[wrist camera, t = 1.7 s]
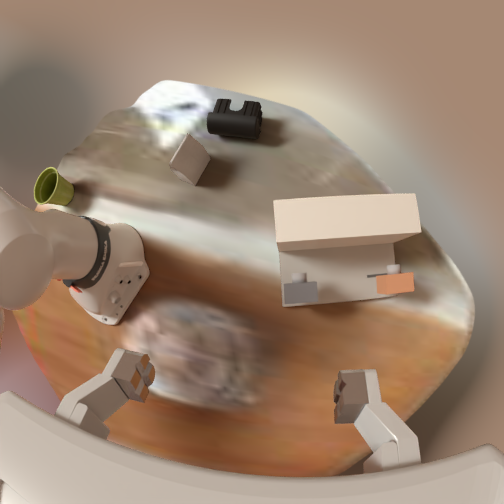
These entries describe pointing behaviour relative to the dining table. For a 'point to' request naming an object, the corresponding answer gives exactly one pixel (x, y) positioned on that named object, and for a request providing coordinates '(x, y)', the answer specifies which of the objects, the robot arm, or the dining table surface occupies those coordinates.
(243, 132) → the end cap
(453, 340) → the dining table surface
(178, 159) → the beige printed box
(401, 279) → the orange thick block
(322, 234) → the plug console
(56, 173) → the plant pot
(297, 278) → the grey plug
